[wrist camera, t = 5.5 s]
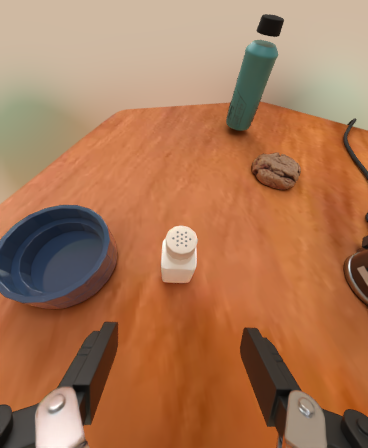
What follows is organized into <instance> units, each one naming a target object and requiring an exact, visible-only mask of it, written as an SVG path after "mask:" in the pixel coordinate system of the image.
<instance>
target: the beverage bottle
mask: <svg viewBox="0 0 368 448" xmlns="http://www.w3.org/2000/svg"><path fill="white" fill-rule="evenodd" d="M283 22H284V19H283V18H281V17H278V16H275V15H267V14H265V15H263V16H262V17H261V21H260V23H259V26H258V28H257V32H258V33H260V34H263V35H267V36H273V37H277V36H279V35H280V32H281V28H282V25H283ZM277 56H278V51H277V48H276V46H275V44H273V43H271V42H268V41H262V40H255V41H253V42H252V43H251V44H250V45H248V46H247V48H246V50H245V55H244V59H243V62H242V66H241V70H240V73H239V76H238V78H237V79H238V80H237V83H236V87H235V91H234V94H233V98H232V101H231V104H230V106H229V110H228V111H229V112H228V116H227V117H226V118H227V120H226V123H227V125H228V126H229V127H230V128H232V129H235V130H240V131H243V130H247V129H248V128H249V127H250V125H251V122H252V119H254V118H253V117H254V116H255V114H256V113H255V112H256V111H257V110H256V109H258V108H257V107H258V105H259V102H260V100H261V97H262V94H263V91H264V88H265V86H266V83H267V81H268V78H269V76H270V73H271V71H272V68H273V66H274V63H275V60H276V58H277Z"/></svg>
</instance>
